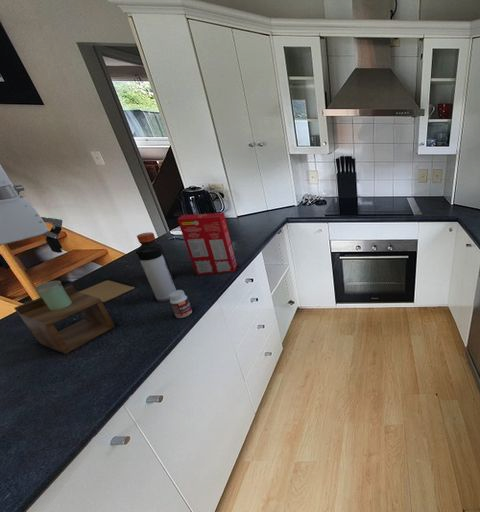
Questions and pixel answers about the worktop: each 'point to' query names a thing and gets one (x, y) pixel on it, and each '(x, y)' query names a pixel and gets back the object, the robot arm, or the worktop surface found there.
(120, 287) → the cork mat
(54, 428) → the worktop surface
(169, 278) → the travel mug
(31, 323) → the shelf unit
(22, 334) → the worktop surface
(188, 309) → the pill bottle
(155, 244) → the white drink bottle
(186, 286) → the worktop surface
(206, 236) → the food packaging
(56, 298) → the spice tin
